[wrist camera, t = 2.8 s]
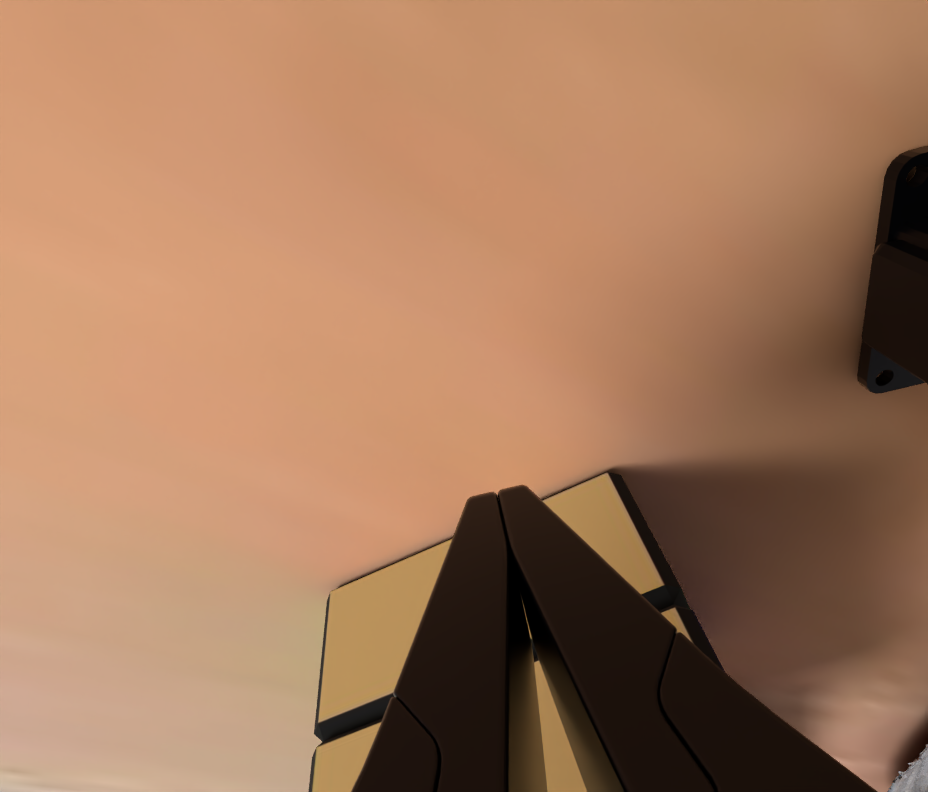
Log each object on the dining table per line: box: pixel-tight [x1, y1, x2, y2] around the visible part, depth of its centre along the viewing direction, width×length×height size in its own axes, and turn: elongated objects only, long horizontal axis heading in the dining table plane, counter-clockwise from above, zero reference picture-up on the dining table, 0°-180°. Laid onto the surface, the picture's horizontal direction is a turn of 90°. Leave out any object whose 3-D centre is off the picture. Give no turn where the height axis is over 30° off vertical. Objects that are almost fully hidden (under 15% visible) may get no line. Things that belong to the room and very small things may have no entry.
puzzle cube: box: [309, 472, 725, 792], centre depth 17 cm, size 10×10×10 cm
